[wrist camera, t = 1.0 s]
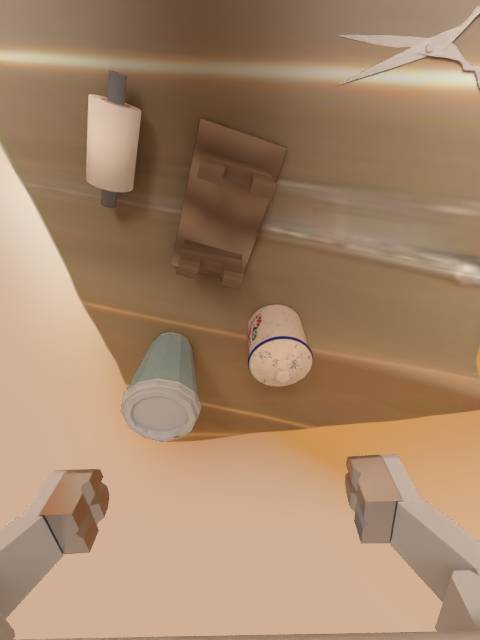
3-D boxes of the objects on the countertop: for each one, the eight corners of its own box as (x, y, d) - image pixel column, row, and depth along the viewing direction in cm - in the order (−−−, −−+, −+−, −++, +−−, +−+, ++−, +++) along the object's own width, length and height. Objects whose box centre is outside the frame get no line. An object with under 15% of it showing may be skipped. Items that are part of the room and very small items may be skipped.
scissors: (524, 89, 35) (335, 122, 36) (518, 89, 36) (333, 121, 37) (567, -57, 29) (338, -12, 30) (560, -54, 30) (336, -10, 31)
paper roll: (103, 66, 34) (78, 61, 29) (151, 83, 34) (133, 81, 30) (97, 193, 41) (76, 203, 37) (136, 206, 41) (120, 218, 37)
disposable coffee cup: (127, 335, 54) (98, 410, 41) (184, 309, 51) (170, 381, 39) (165, 376, 59) (148, 452, 47) (217, 355, 57) (214, 430, 44)
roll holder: (201, 117, 36) (195, 126, 30) (286, 147, 38) (297, 161, 32) (172, 262, 46) (162, 291, 40) (240, 279, 48) (242, 310, 42)
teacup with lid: (247, 301, 50) (251, 352, 41) (306, 302, 51) (323, 353, 41) (243, 359, 57) (246, 414, 48) (295, 359, 58) (308, 414, 48)
